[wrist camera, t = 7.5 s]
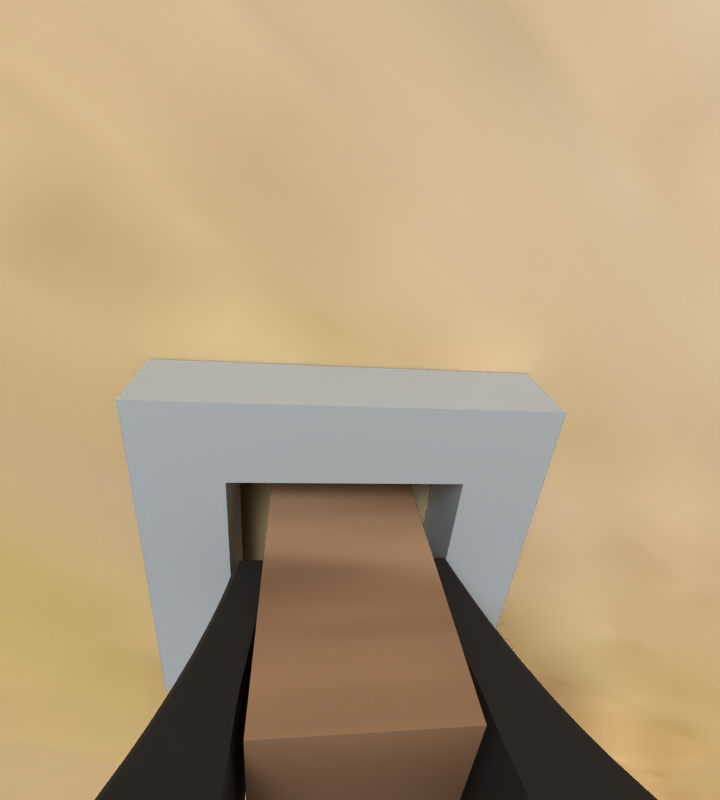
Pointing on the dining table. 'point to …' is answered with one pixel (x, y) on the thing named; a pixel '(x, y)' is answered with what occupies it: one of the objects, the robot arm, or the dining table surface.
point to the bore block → (325, 467)
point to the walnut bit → (355, 655)
